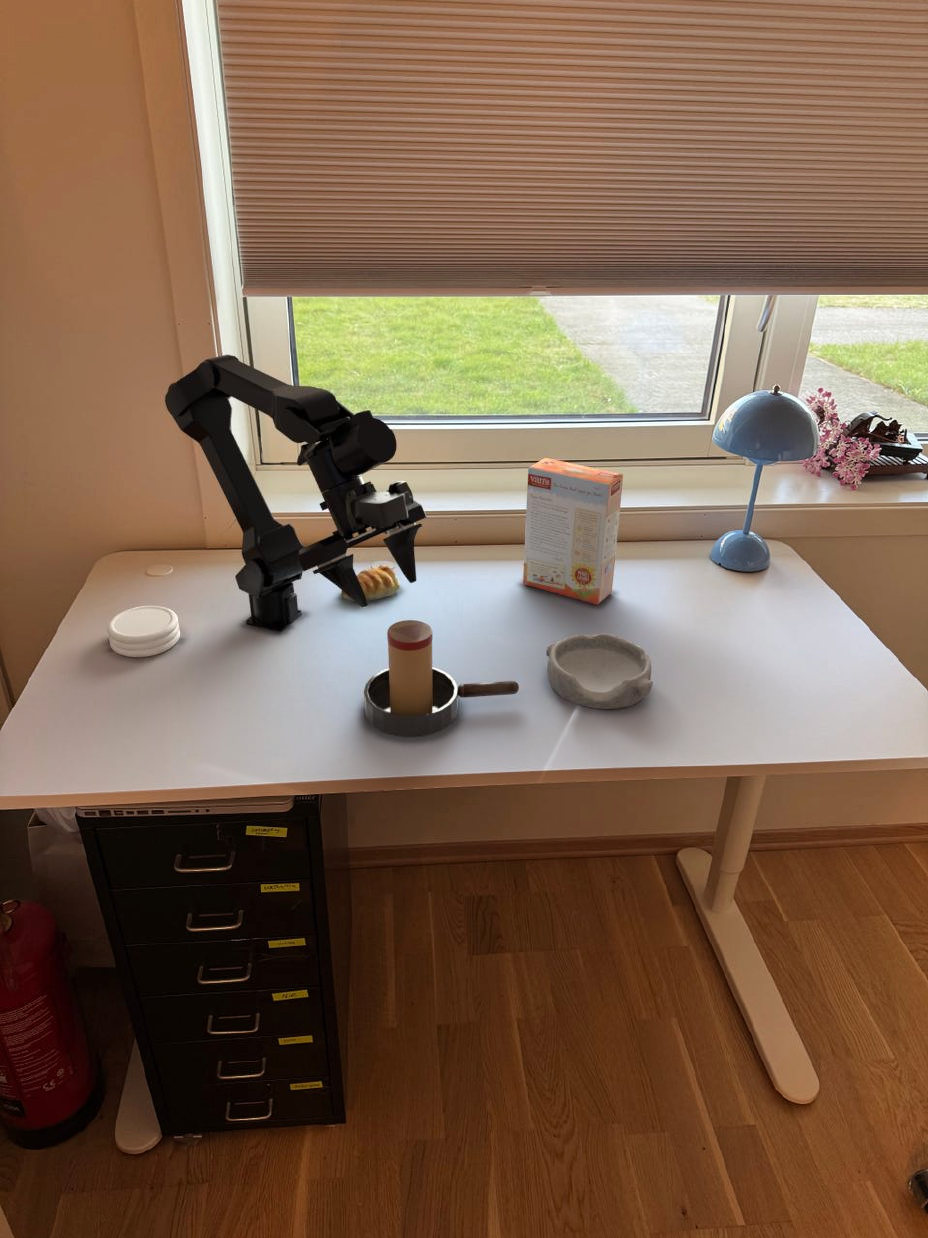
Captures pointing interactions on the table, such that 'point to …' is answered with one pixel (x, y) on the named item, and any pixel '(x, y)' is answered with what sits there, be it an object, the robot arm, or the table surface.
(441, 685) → the pan
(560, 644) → the dish
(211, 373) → the robot arm
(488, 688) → the pan handle
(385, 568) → the pastry
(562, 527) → the cracker box
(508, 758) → the table surface
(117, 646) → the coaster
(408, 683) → the cracker tube
